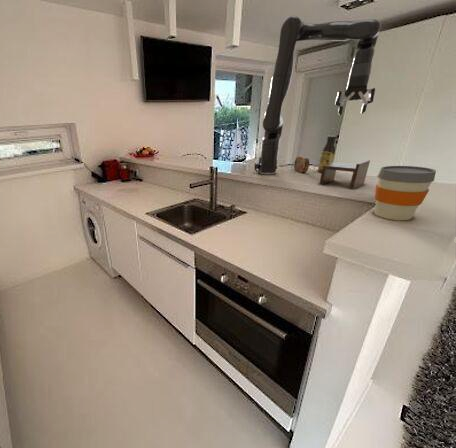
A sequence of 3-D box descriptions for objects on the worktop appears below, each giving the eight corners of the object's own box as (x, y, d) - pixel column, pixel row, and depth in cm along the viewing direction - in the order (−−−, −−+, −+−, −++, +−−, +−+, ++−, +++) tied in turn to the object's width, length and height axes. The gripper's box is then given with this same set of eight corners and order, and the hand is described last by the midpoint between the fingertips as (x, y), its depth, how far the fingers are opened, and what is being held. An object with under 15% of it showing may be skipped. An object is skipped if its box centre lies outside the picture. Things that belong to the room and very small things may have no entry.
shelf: (319, 184, 120) (323, 161, 116) (330, 179, 126) (335, 158, 122) (353, 189, 109) (359, 164, 105) (363, 184, 115) (370, 160, 111)
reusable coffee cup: (357, 210, 86) (369, 167, 80) (392, 207, 86) (405, 164, 81) (392, 224, 74) (408, 174, 68) (431, 220, 75) (451, 171, 69)
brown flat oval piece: (293, 169, 156) (295, 155, 153) (298, 168, 156) (300, 155, 152) (302, 173, 142) (305, 159, 139) (308, 173, 142) (311, 158, 139)
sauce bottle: (315, 171, 145) (321, 136, 137) (321, 170, 147) (328, 135, 140) (326, 173, 139) (333, 136, 132) (333, 171, 142) (340, 135, 134)
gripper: (376, 74, 112) (366, 113, 118) (338, 78, 118) (331, 115, 124) (382, 72, 106) (371, 113, 112) (342, 76, 111) (334, 115, 118)
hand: (350, 114), depth 118 cm, fingers open, 8 cm apart
